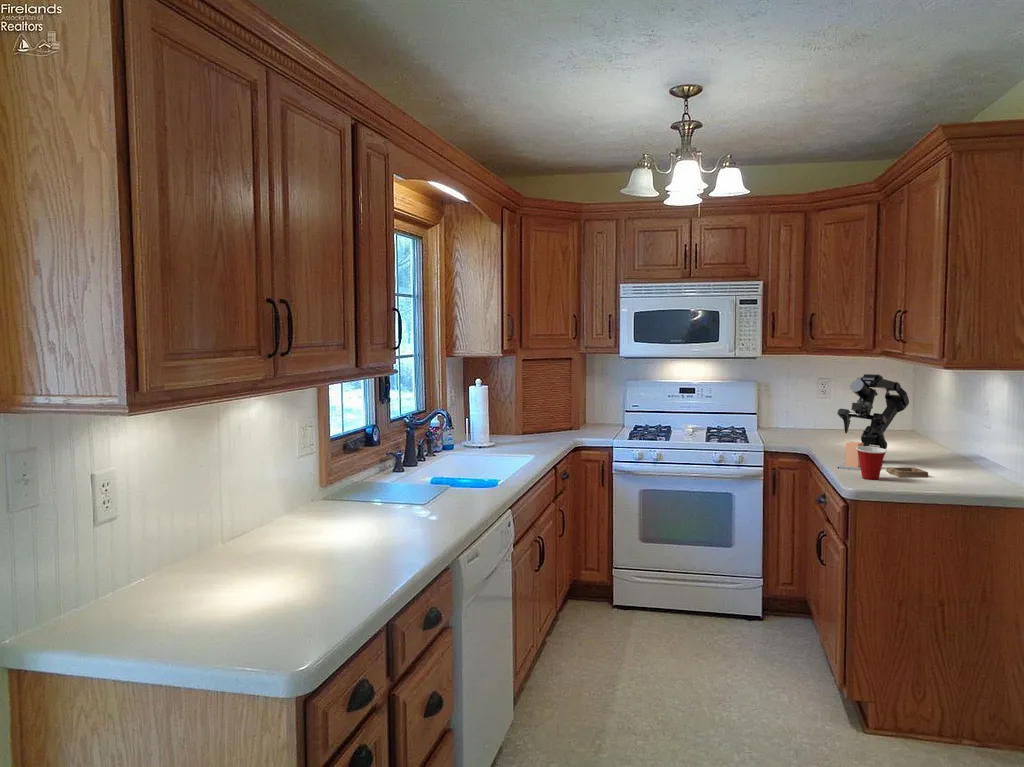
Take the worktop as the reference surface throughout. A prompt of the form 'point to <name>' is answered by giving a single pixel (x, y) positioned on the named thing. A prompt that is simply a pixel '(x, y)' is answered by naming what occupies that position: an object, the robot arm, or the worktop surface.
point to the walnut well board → (907, 472)
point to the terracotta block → (852, 454)
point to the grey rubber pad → (848, 467)
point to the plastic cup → (870, 461)
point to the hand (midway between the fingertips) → (856, 434)
